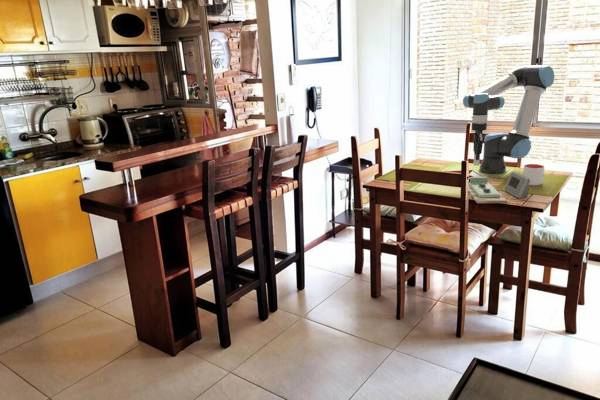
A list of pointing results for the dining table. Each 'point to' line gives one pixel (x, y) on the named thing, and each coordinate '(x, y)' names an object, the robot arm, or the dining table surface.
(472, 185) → the panel
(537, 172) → the cup
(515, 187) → the digital clock
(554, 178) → the dining table surface
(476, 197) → the board
